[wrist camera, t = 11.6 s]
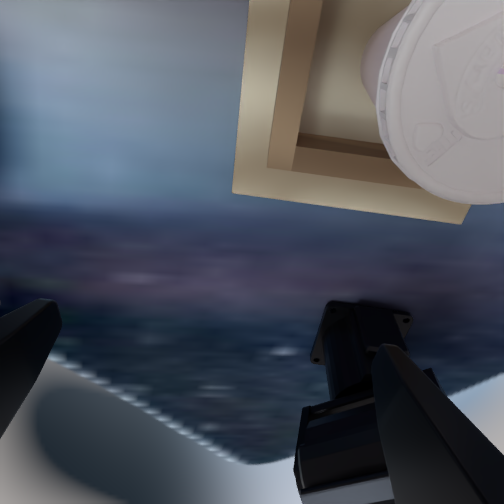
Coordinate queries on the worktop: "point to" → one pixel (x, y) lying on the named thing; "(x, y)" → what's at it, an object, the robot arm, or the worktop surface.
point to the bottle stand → (320, 113)
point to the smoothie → (442, 96)
